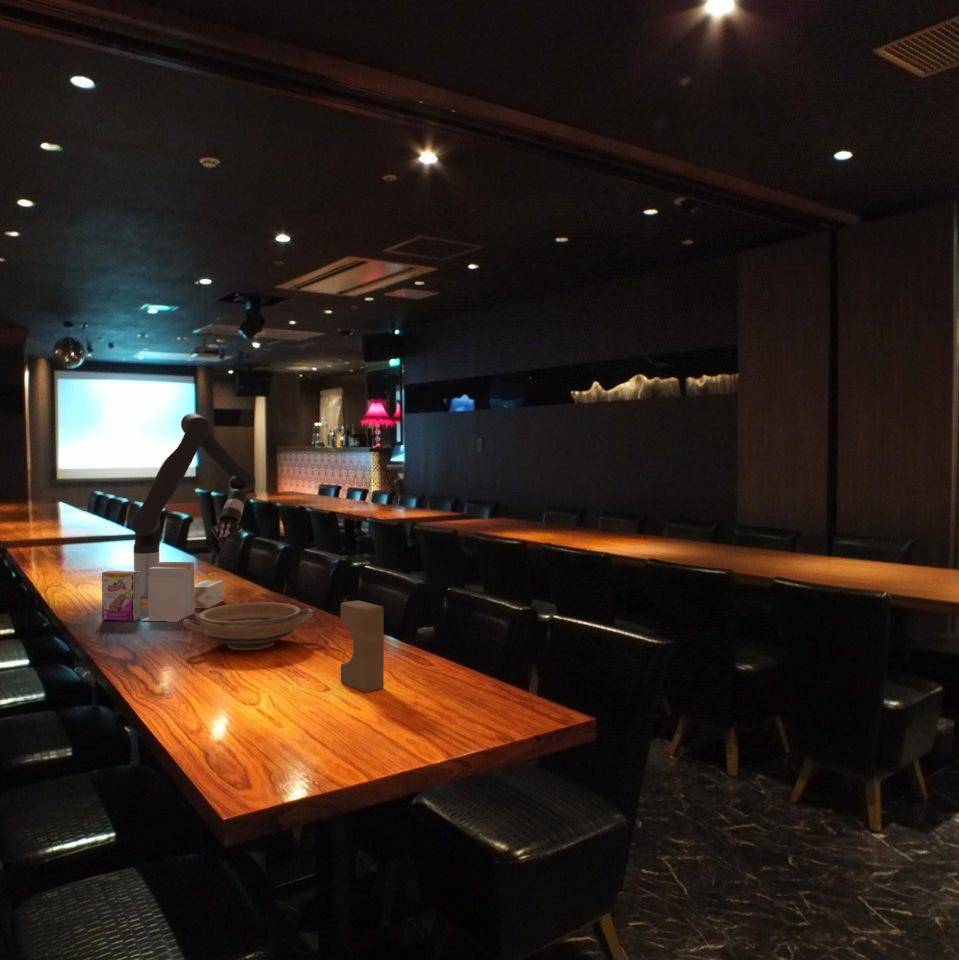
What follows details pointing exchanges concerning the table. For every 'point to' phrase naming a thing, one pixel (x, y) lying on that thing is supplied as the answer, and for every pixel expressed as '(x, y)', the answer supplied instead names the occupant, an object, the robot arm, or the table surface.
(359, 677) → the decorative block
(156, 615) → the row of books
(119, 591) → the candy bar box
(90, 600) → the table surface
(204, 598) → the beige rectangular block
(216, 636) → the ceramic bowl
